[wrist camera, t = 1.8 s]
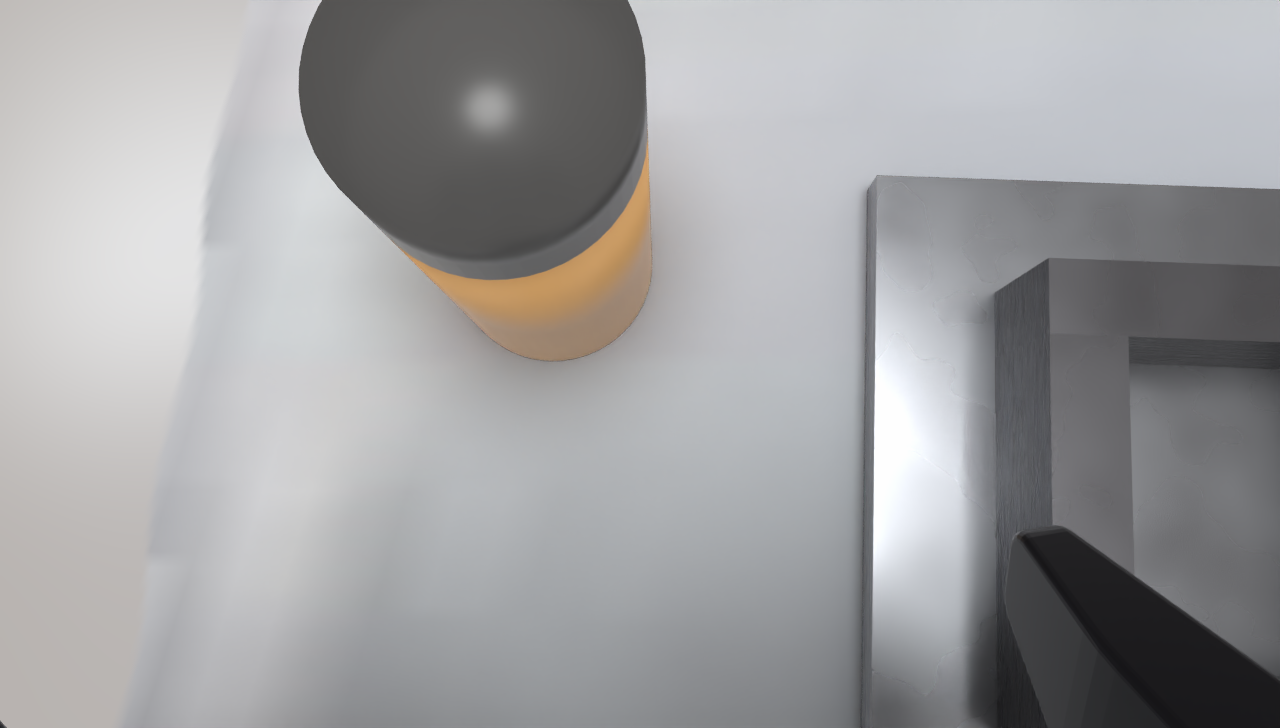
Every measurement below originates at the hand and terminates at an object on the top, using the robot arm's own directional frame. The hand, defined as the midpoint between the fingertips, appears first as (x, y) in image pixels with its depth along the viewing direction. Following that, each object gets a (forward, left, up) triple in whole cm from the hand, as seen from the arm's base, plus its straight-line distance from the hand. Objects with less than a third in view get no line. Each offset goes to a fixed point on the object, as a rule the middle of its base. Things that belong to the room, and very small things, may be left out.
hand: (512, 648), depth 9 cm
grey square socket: (+2, -13, -13) cm, 18 cm away
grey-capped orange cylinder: (+7, +1, -13) cm, 15 cm away
